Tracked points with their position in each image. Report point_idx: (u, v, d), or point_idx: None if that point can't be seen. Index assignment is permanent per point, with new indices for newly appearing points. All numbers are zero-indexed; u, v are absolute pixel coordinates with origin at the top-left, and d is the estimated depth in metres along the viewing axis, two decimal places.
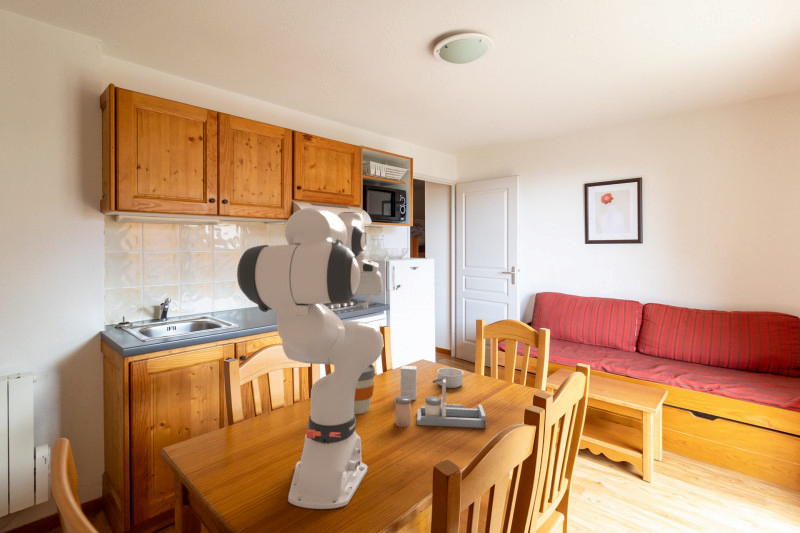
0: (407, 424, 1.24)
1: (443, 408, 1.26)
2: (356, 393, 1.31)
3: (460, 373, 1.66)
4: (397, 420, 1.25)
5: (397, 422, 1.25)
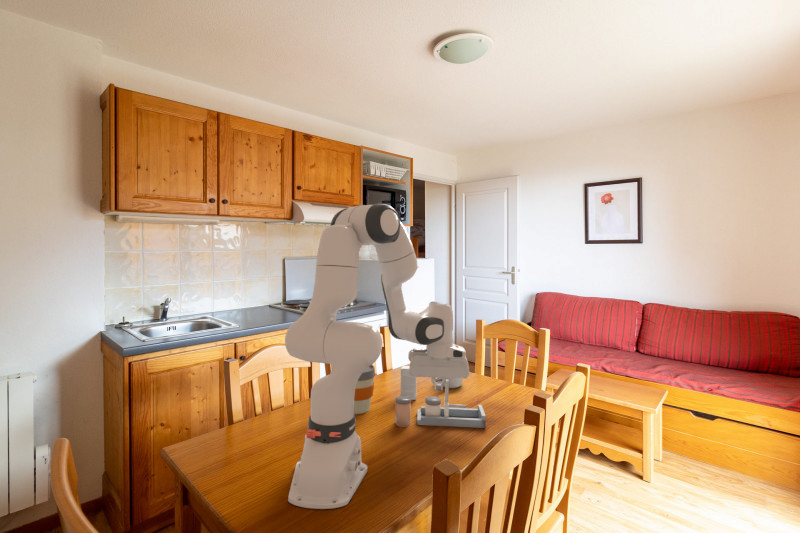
0: (407, 424, 1.24)
1: (446, 408, 1.26)
2: (356, 393, 1.31)
3: None
4: (397, 420, 1.25)
5: (397, 422, 1.25)
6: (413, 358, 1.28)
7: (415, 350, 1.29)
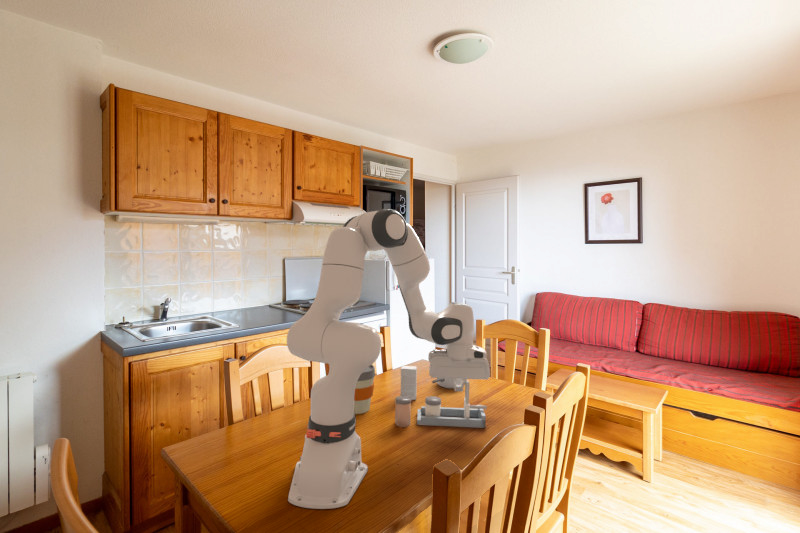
0: (407, 424, 1.24)
1: (467, 409, 1.26)
2: (356, 393, 1.31)
3: None
4: (397, 420, 1.25)
5: (397, 422, 1.25)
6: (433, 359, 1.27)
7: (435, 351, 1.28)
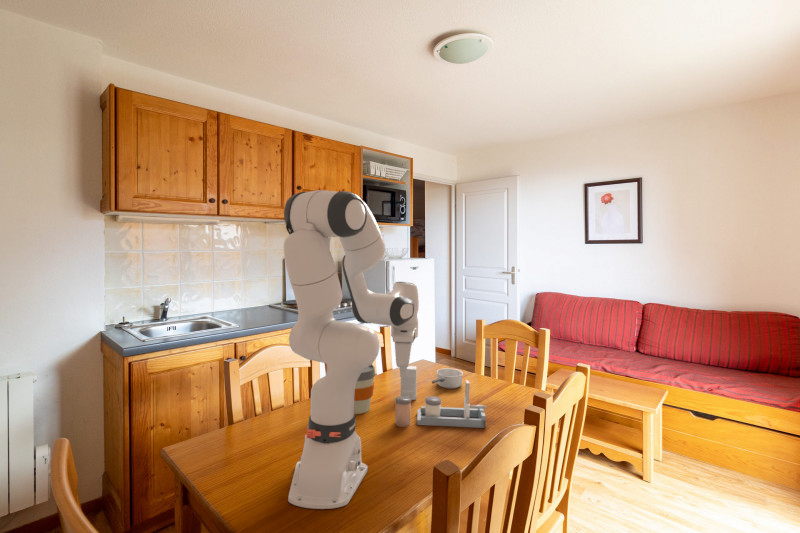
0: (407, 424, 1.24)
1: (467, 409, 1.26)
2: (356, 393, 1.31)
3: (459, 373, 1.65)
4: (397, 420, 1.25)
5: (397, 422, 1.25)
6: None
7: None
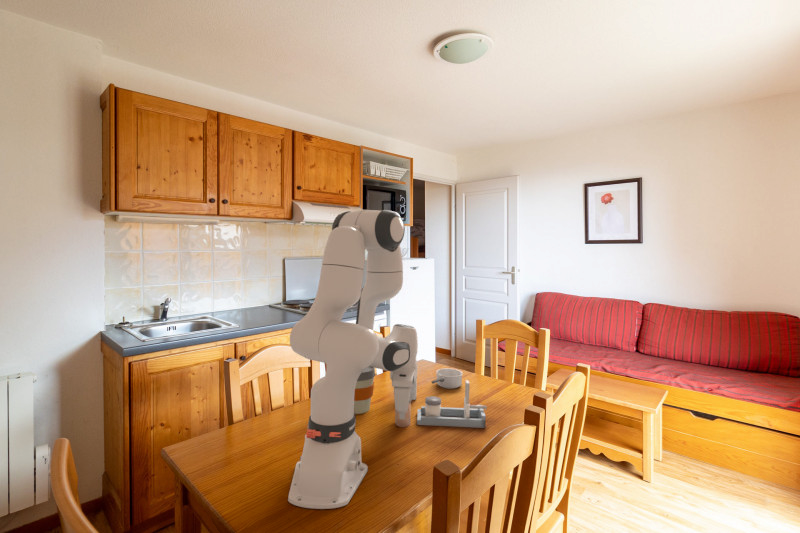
0: (407, 424, 1.24)
1: (467, 409, 1.26)
2: (356, 393, 1.31)
3: (459, 374, 1.65)
4: (397, 420, 1.25)
5: (397, 422, 1.25)
6: None
7: None
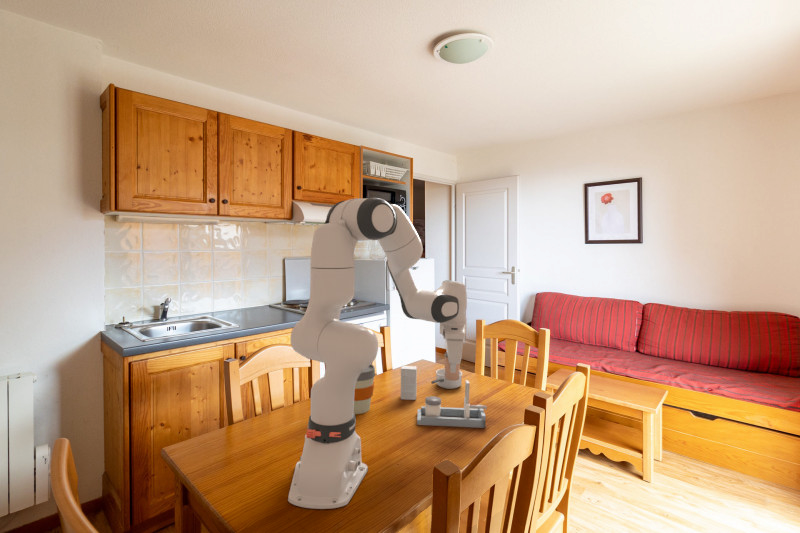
0: (457, 378, 1.27)
1: (467, 409, 1.26)
2: (356, 393, 1.31)
3: (459, 374, 1.65)
4: (447, 374, 1.27)
5: (447, 376, 1.27)
6: None
7: None
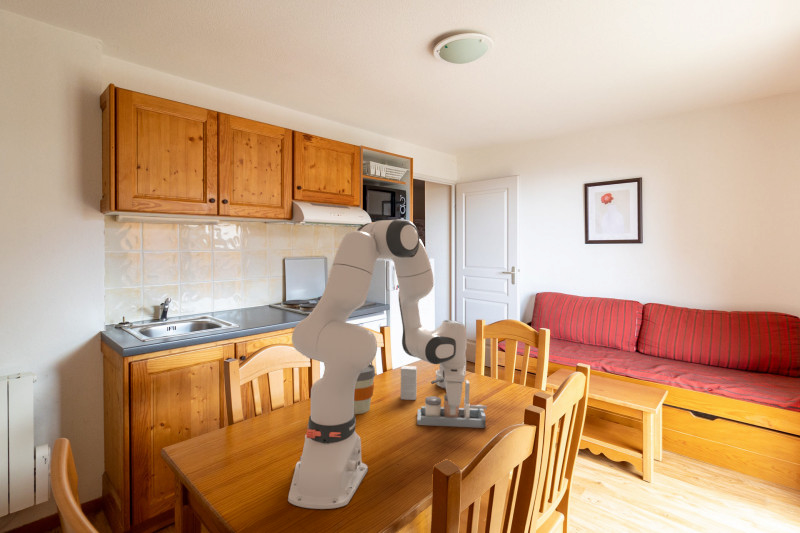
0: None
1: (467, 409, 1.26)
2: (356, 393, 1.31)
3: None
4: None
5: None
6: None
7: None
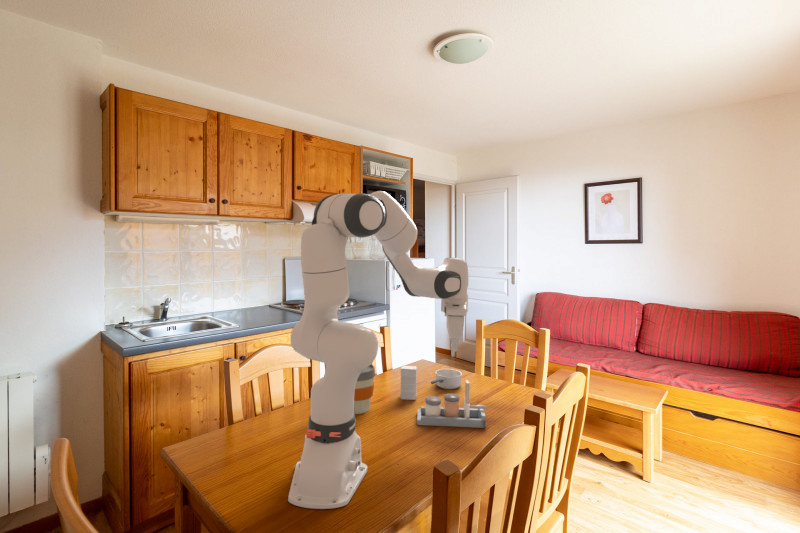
0: None
1: (467, 409, 1.26)
2: (356, 393, 1.31)
3: (458, 374, 1.64)
4: None
5: None
6: None
7: None
